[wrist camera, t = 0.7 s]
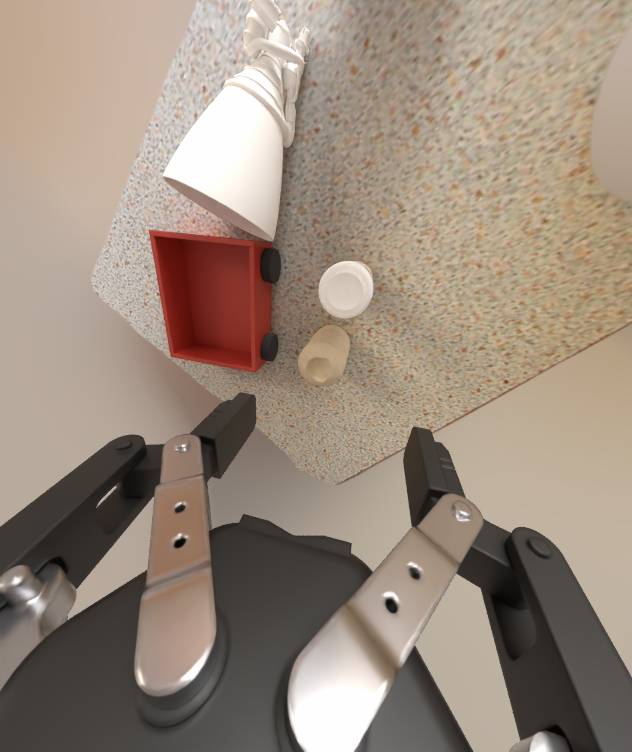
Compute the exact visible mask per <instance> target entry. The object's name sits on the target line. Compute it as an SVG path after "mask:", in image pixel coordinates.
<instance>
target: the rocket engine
mask: <svg viewBox="0 0 632 752" xmlns="http://www.w3.org/2000/svg"><path fill="white" fill-rule="evenodd" d="M277 1H279V0H276V1H275V0H251V1H250V6H249V7H250V8H252V10H251V11H250V12H249V14H248V15H247V16H246V20H245V22H246V26H247V28H246V29H245V30H244V32H243V37H244V38H243V43H244V47H245V50H246V52H247V54H248V55H249V56H252V57H256V56H258V54H259V53H260V54H259V58H258V59H255V60H253V61H252V63H251V65H248V66H245V67H244V69H243V72H241V73H240V74H236V75H235V77H234V79H229V80H227V81H226V82H225V84H224V90H223V91H222V92H221V93H220V94H219V96H218V97H217V98H216V99H215V100H214V101H213V102H212V103H211V105H210V106H209V107H208V108H207V109H206V111H205V112H204V113H203V114H202V115H201V117H200V118H199V119H198V121H197V122H196V123H195V125H194V126H193V127H192V129H191V130H190V131H189V133H188V134H187V136H186V137H185V138H184V140H183V141H182V143H181V144H180V146H179V147H178V149H177V151H176V152H175V154H174V156H173V157H172V159H171V161H170V162H169V164H168V166H167V168H166V170H165V172H164V174H163V179H164V180H165V181H166V182H167V183H168V184H169V185H171V186H172V187H173V188H175V189H176V190H177V191H179V192H180V193H182V194H183V195H184V196H186V197H187V198H189V199H190V200H192V201H194V202H195V203H197V204H198V205H200V206H202V207H203V208H205V209H206V210H208V211H210V212H211V213H213V214H215V215H217V216H218V217H220V218H222V219H224V220H225V221H227V222H229V223H231V224H233V225H235V226H236V227H238V228H240V229H242V230H244V231H246V232H248V233H250V234H253V235H255V236H257V237H259V238H262V239H264V240H267V241H272V242H273V241H274V237H275V232H276V226H277V220H278V213H279V204H280V195H281V182H282V166H283V147H285V148H288V147H289V146H290V145H291V144H292V142H293V139H294V134H295V130H294V128H295V118H296V109H295V101H296V100H297V97H298V89H299V87H300V80H301V76H302V74H303V69H304V65H305V64H308V62H307V60H306V62H304V60H303V59H304V57H305V56H306V55H308V53H309V52H310V51H312V50H310V49H311V47H310V49H309V48H308V45H309V43H310V40H311V41H312V40H313V39H312V37H311V33H310V31H309V30H308V29H307V28H306V27H304V26H303V27H302V29H301V30H299V33H300V32H301V34H300V37H299V38H298V36H297V38H296V39H295V46H296V48H295V46H294V48H295V51H294V49H293V50H292V49H290V48H291V46H292V40H291V35H290V32H289V26H288V25H287V24H286V23H285V21H284V20H280V21H278V18H279V16H280V15H281V13H280V9H279V8H278V7H277V5H276V4H275V2H277ZM268 28H269V30H270V31H269V34H268V37H267V32H268ZM298 35H299V34H298ZM309 46H310V45H309ZM263 50H265V51H264V53H263ZM309 50H310V51H309ZM305 59H306V58H305ZM285 61H287V63H285ZM284 63H285V65H284ZM281 77H282V79H281ZM282 83H283V84H282ZM283 85H284V87H285V89H286V90H287V104H286V107H285V117H284V112H283V105H284V98H283V95H282V92H283ZM295 91H296V93H295ZM284 119H285V120H284Z"/></svg>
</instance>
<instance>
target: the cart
mask: <svg viewBox="0 0 632 752" xmlns="http://www.w3.org/2000/svg"><path fill="white" fill-rule="evenodd" d="M149 234H150V239H151V245H152V251H153V257H154V262H155V268H156V274H157V280H158V285H159V291H160V297H161V303H162V308H163V314H164V320H165V326H166V331H167V337H168V343H169V349H170V355H171V357H174V358H180V359H185V360H191V361H196V362H202V363H207V364H212V365H218V366H223V367H229V368H234V369H240V370H245V371H251V372H256V371H257V370H258V369H259V368H261V367H262V366H263V365H264V364H265V363H266V362H267V361H265V360H263V359H262V356H261V346H262V341H263V338H264V336H265V335H266V334H267V333H270V332H271V283H269V282H265V281H264V280H263V277H262V274H261V258H262V254H263V251H264V250H265V249H266V248H272V243H267V242H259V241H251V240H241V239H232V238H222V237H213V236H203V235H193V234H184V233H174V232H165V231H155V230H149Z"/></svg>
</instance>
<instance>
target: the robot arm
mask: <svg viewBox="0 0 632 752" xmlns="http://www.w3.org/2000/svg"><path fill="white" fill-rule="evenodd" d="M255 424H256V398H255V395H251V394H246V393H239V394H238V395H237V396H236V397H235V398H234V399H233V400H227V401H225V402H223V403H221V404H219V405H218V406H217V407H216V408H215V409H214V410H213V412H211V413H210V414H209V416H208V417H206V418H205V419H204V420H203V421H202V422H201V423H200V424H199V425H198V426H197V427H196V428H195V429H194V430H193V431H192V432H191V433H190V434H183V435H178V436H176V437H173V438H172V439H170V440H169V441H167V442H166V443H165V444H162V445H161V444H160V445H146V444H145V441H144V438H143V437H141V436H139V435H126V436H122V437H119V438H117V439H114V440H113V441H111V442H109V443H108V444H107V445H106V446H104V447H103V448H101V449H100V450H99V451H98V452H96V453H95V454H94V455H92V456H91V457H90V458H88V459H87V460H86V461H85V462H83V463H82V464H81V465H79V466H78V467H77V468H76V469H74V470H73V471H72V472H70V473H69V474H68V475H67V476H65V477H64V478H63V479H61V480H60V481H59V482H58V483H56V484H55V485H54V486H53V487H51V488H50V489H49V490H47V491H46V492H45V493H43V494H42V495H41V496H40V497H38V498H37V499H36V500H34V501H33V502H32V503H30V504H29V505H28V506H27V507H25V508H24V509H23V510H22V511H20V512H19V513H18V514H16V515H15V516H14V517H12V518H11V519H10V520H9V521H7V522H6V523H5V524H3V525H2V526H1V527H0V752H473V750H472V748H471V747H470V745H469V743H468V741H467V739H466V737H465V735H464V734H463V732H462V730H461V728H460V726H459V725H458V723H457V721H456V719H455V717H454V716H453V714H452V712H451V710H450V708H449V706H448V705H447V703H446V701H445V699H444V697H443V696H442V694H441V692H440V690H439V688H438V687H437V685H436V683H435V681H434V679H433V677H432V676H431V674H430V672H429V670H428V668H427V666H426V665H425V663H424V661H423V659H422V657H421V655H420V654H419V652H418V650H417V648H416V646H415V644H416V642H417V640H418V639H419V637H420V635H421V633H422V631H423V630H424V628H425V626H426V625H427V623H428V621H429V619H430V618H431V616H432V614H433V612H434V611H435V609H436V607H437V606H438V604H439V602H440V600H441V598H442V597H443V595H444V593H445V591H446V590H447V588H448V586H449V585H450V583H451V581H452V579H453V578H454V576H455V574H458V575H460V576H461V577H463V578H465V579H467V580H468V581H470V582H471V583H473V584H475V585H476V586H478V587H480V588H481V591H482V595H483V599H484V603H485V606H486V610H487V614H488V618H489V622H490V626H491V630H492V633H493V637H494V641H495V645H496V649H497V653H498V656H499V660H500V664H501V668H502V672H503V676H504V679H505V683H506V687H507V691H508V695H509V698H510V702H511V706H512V710H513V714H514V717H515V721H516V725H517V729H518V733H519V737H520V742H518V743H516V744H514V745H513V746H512V748H511V749H510V752H632V677H631V676H630V673H629V672H628V670H627V668H626V666H625V665H624V663H623V661H622V659H621V657H620V656H619V654H618V652H617V650H616V649H615V647H614V645H613V643H612V641H611V640H610V638H609V636H608V634H607V633H606V631H605V629H604V627H603V625H602V624H601V622H600V620H599V618H598V617H597V615H596V613H595V611H594V609H593V608H592V606H591V604H590V602H589V600H588V599H587V597H586V595H585V593H584V592H583V590H582V588H581V586H580V584H579V583H578V581H577V579H576V577H575V576H574V574H573V572H572V570H571V568H570V567H569V565H568V563H567V561H566V560H565V558H564V556H563V555H562V553H561V552H560V550H559V549H558V548H557V547H556V546H555V545H554V544H553V543H552V542H551V541H550V540H549V539H547V538H546V537H545V536H543V535H541V534H540V533H538V532H537V531H534V530H532V529H529V528H526V527H518V528H515V529H514V530H513V531H512V533H510V532H508V531H506V530H504V529H502V528H499V527H498V526H496V525H494V524H491V523H490V522H488V521H486V520H485V519H483V516H482V514H481V512H480V511H479V510H478V508H477V507H476V506H475V505H474V504H473V503H472V502H471V501H469V500H468V499H466V497H465V495H464V492H463V489H462V486H461V484H460V481H459V478H458V476H457V473H456V470H455V467H454V465H453V463H452V459H451V456H450V454H449V451H448V450H447V449H446V448H445V447H444V446H443V444H442V443H440V442H435V441H434V438H433V435H432V432H431V430H429V429H424V428H419V427H413V428H412V431H411V434H410V437H409V440H408V443H407V446H406V449H405V452H404V459H403V461H404V462H403V463H404V471H405V478H406V486H407V493H408V501H409V509H410V516H411V524H412V528H411V529H410V530H409V531H408V532H407V533H406V535H405V536H404V537H403V538H402V539H401V541H400V542H399V543H398V544H397V545H396V546H395V547H394V549H393V550H392V551H391V552H390V553H389V554H388V556H387V557H386V558H385V559H384V560H383V562H382V563H381V564H380V565H379V566H378V567H377V569H376V570H375V571H374V572H373V571H372V570H370V568H369V567H368V566H367V565H366V564H365V563H364V562H363V561H362V560H360V559H359V558H358V557H356V556H355V555H353V554H351V545H352V544H351V543H349V542H345V541H342V540H338V539H334V538H330V537H327V536H294V535H292V534H290V533H288V532H286V531H285V530H283V529H282V528H280V527H278V526H276V525H275V524H273V523H271V522H270V521H267V520H264V519H260V518H256V517H252V516H249V515H245V514H243V516H242V518H241V520H240V522H239V523H231V524H226V525H222V526H219V527H217V528H214V529H212V522H211V513H210V505H209V496H208V486H207V482H208V480H209V479H210V478H211V477H214V478H219V479H220V478H221V477H222V475H223V474H224V472H225V471H226V469H227V468H228V466H229V465H230V463H231V462H232V461H233V459H234V458H235V456H236V455H237V453H238V452H239V450H240V449H241V447H242V446H243V445H244V443H245V442H246V440H247V438H248V437H249V436H250V434H251V432H252V431H253V430H254V427H255ZM115 485H116V487H117V488H116V489H115V490H114V491H113V492H112V493H111V494H110V495H109V496H108V497H107V498H106V499H105V500H104V501H103V502H102V503H101V504H100V505H99V506H98V507H97V505H98V503H99V501H100V500H101V499H102V498H103V497H104V496H105V495H106V494H107V493H108V492H109V491H110V490H111V489H112V488H113V487H114V486H115ZM152 497H154V506H153V517H152V528H151V538H150V549H149V559H148V569H147V570H146V571H145V572H143V573H141V574H140V575H138V576H137V577H135V578H133V579H132V580H130V581H129V582H127V583H126V584H124V585H123V586H121V587H119V588H118V589H116V590H114V591H113V592H111V593H110V594H108V595H107V596H105V597H103V598H102V599H100V600H99V601H97V602H96V603H94V604H93V605H91V606H89V607H88V608H86V609H85V610H83V611H81V612H80V613H78V614H77V615H75V616H73V617H72V618H70V619H69V620H67V619H68V613H69V611H70V610H71V609H72V607H73V605H74V602H75V599H76V589H77V588H78V587H79V586H80V584H81V583H82V582H83V581H84V579H85V578H86V577H87V576H88V575H89V574H90V572H91V571H92V570H93V569H94V568H95V566H96V565H97V564H98V563H99V562H100V560H101V559H102V558H103V557H104V555H105V554H106V553H107V552H108V551H109V549H110V548H111V547H112V546H113V545H114V543H115V542H116V541H117V540H118V538H119V537H120V536H121V535H122V534H123V533H124V531H125V530H126V529H127V528H128V527H129V525H130V524H131V523H132V522H133V520H134V519H135V518H136V517H137V516H138V514H139V513H140V512H141V511H142V509H143V508H144V507H145V506H146V505H147V504H148V502H149V501H150V500H151V499H152ZM96 507H97V508H96Z"/></svg>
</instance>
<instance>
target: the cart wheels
mask: <svg viewBox="0 0 632 752" xmlns="http://www.w3.org/2000/svg"><path fill="white" fill-rule="evenodd" d="M280 270H281V259H280V254H279V252H278V250H277V249H272V248H266V249H265V250H264V251H263V254H262V258H261V274H262V277H263V280H264V281H265V282H269V283H276V282H277V281H278V279H279V276H280ZM277 351H278V337H277V335H276V334H270V333H267V334H266V335H265V336H264V338H263V341H262V346H261V356H262V359H263V360H265V361H271V362H272V361H274V359H275V357H276V355H277Z"/></svg>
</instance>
